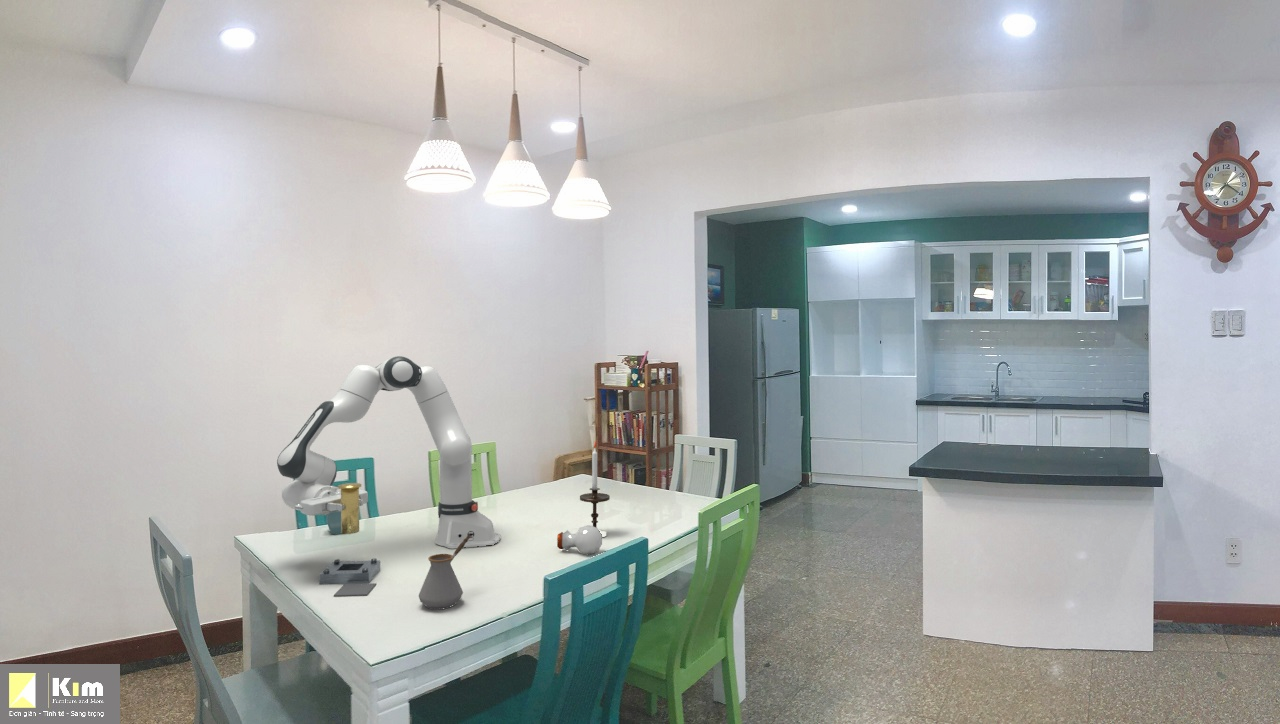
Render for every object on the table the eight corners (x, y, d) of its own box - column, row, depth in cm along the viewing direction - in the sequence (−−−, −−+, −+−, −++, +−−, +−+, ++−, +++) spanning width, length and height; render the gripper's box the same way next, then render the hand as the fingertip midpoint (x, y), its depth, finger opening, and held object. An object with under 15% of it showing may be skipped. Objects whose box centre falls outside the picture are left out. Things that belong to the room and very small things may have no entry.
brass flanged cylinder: (364, 528, 216) (364, 482, 216) (358, 534, 210) (357, 487, 210) (342, 529, 216) (342, 483, 215) (335, 534, 210) (335, 487, 209)
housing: (380, 569, 220) (380, 557, 220) (368, 583, 208) (368, 570, 208) (333, 571, 219) (333, 558, 219) (319, 584, 207) (319, 571, 207)
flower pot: (326, 537, 257) (326, 512, 256) (325, 531, 264) (324, 507, 264) (352, 534, 261) (352, 509, 260) (350, 528, 269) (350, 504, 268)
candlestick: (600, 529, 267) (600, 437, 266) (615, 536, 258) (615, 440, 257) (574, 534, 261) (574, 439, 260) (588, 541, 252) (589, 442, 251)
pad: (376, 584, 207) (376, 583, 207) (367, 595, 198) (367, 594, 198) (344, 585, 206) (344, 584, 206) (333, 596, 197) (333, 595, 197)
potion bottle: (602, 560, 235) (561, 561, 240) (609, 536, 243) (568, 538, 247) (594, 542, 230) (552, 543, 234) (601, 518, 237) (559, 520, 242)
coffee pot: (447, 614, 185) (447, 557, 184) (409, 609, 188) (409, 553, 187) (488, 587, 205) (488, 535, 205) (453, 583, 208) (453, 532, 208)
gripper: (291, 496, 210) (321, 501, 203) (350, 484, 228) (379, 488, 221) (291, 517, 210) (321, 523, 203) (350, 503, 228) (379, 508, 221)
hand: (352, 505), depth 212 cm, fingers closed on brass flanged cylinder, 5 cm apart
